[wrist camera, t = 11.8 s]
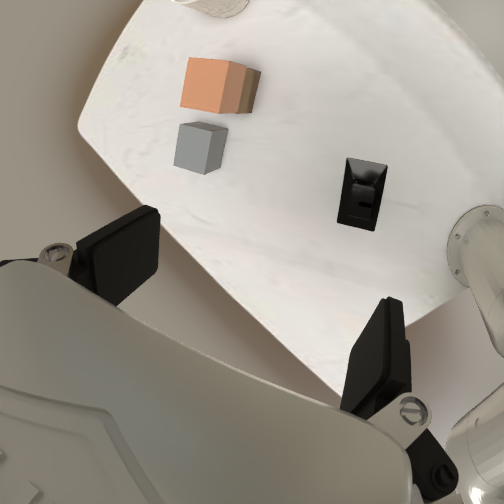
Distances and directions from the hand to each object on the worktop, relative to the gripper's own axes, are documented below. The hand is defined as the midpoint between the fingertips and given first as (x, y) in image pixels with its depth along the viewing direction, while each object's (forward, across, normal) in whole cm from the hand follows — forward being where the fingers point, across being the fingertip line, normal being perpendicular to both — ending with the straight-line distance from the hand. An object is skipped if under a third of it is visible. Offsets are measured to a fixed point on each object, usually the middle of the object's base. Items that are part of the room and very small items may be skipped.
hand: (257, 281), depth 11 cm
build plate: (+31, -5, +3) cm, 32 cm away
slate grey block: (+30, +18, +3) cm, 35 cm away
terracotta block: (+25, +15, -6) cm, 30 cm away
